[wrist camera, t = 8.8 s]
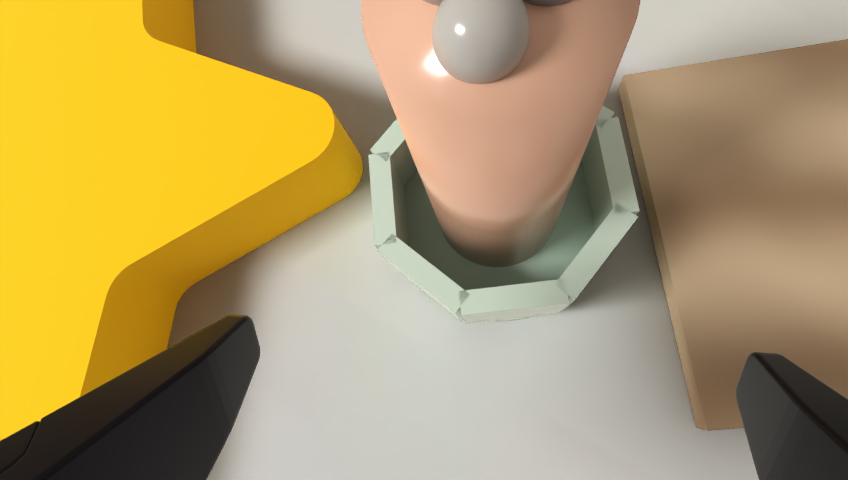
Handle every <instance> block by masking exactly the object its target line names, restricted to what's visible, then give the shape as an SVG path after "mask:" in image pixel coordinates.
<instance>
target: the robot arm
mask: <svg viewBox="0 0 848 480" xmlns="http://www.w3.org/2000/svg"><path fill="white" fill-rule="evenodd" d="M259 357H260V346H259V342H258V339H257V335H256V331H255V327H254V324H253V321H252V319H251V318H250V317H248V316H243V315H228V316H226V317H224V318H222V319H221V320H219V321H217V322H215V323H213V324H212V325H210V326H208V327H206V328H204V329H202V330H201V331H199V332H197V333H195V334H193V335H192V336H190V337H188V338H186V339H184V340H182V341H181V342H179V343H177V344H175V345H173V346H172V347H170V348H168V349H166V350H164V351H162V352H161V353H159V354H157V355H155V356H153V357H152V358H150V359H148V360H146V361H144V362H143V363H141V364H139V365H137V366H135V367H133V368H132V369H130V370H128V371H126V372H124V373H123V374H121V375H119V376H117V377H115V378H113V379H112V380H110V381H108V382H106V383H104V384H103V385H101V386H99V387H97V388H95V389H93V390H92V391H90V392H88V393H86V394H84V395H83V396H81V397H79V398H77V399H75V400H73V401H72V402H70V403H68V404H66V405H64V406H63V407H61V408H59V409H57V410H55V411H54V412H52V413H50V414H48V415H46V416H44V417H43V418H42V419H41V420H40V421H35V422H33V423H32V424H30V425H28V426H26V427H24V428H23V429H21V430H19V431H17V432H15V433H14V434H12V435H10V436H8V437H6V438H4V439H2V440H0V480H206V479H207V477H208V475H209V473H210V471H211V470H212V468H213V466H214V464H215V462H216V460H217V458H218V456H219V454H220V452H221V450H222V448H223V446H224V444H225V442H226V440H227V438H228V436H229V434H230V432H231V430H232V427H233V425H234V423H235V420H236V418H237V415H238V413H239V410H240V408H241V405H242V402H243V400H244V397H245V395H246V392H247V389H248V387H249V384H250V382H251V379H252V376H253V374H254V371H255V369H256V366H257V363H258V361H259ZM736 400H737V404H738V408H739V411H740V415H741V418H742V422H743V425H744V429H745V432H746V436H747V439H748V443H749V446H750V450H751V453H752V457H753V460H754V464H755V467H756V471H757V474H758V477H759V480H848V399H847V398H845V397H844V396H842V395H841V394H839V393H838V392H836V391H835V390H833V389H832V388H830V387H829V386H827V385H826V384H824V383H823V382H821V381H820V380H818V379H817V378H815V377H814V376H812V375H811V374H809V373H808V372H806V371H805V370H803V369H802V368H800V367H799V366H797V365H796V364H794V363H793V362H791V361H790V360H788V359H787V358H785V357H784V356H782V355H780V354H777V353H765V352H753V353H751V354H750V355H749V356H748V358H747V360H746V362H745V365H744V368H743V370H742V373H741V376H740V379H739V381H738V384H737V387H736Z"/></svg>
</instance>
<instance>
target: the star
mask: <svg viewBox="0 0 848 480" xmlns="http://www.w3.org/2000/svg"><path fill="white" fill-rule="evenodd" d="M362 173H363V162H362V158H361V155H360V153H359V151H358V150H357V148H356V147H355V145H354V143H353V142H352V140H351V139H350V137H349V136H348V134H347V132H346V131H345V129H344V128H343V126H342V125H341V123H340V121H339V120H338V118H337V117H336V115H335V114H334V112H333V110H332V109H331V107H330V106H329V104H328V103H327V102H326V101H325V100H324V99H323V98H322V97H320V96H319V95H317V94H314V93H312V92H309V91H306V90H303V89H300V88H297V87H294V86H291V85H288V84H285V83H282V82H279V81H277V80H274V79H271V78H268V77H265V76H262V75H259V74H256V73H253V72H250V71H247V70H244V69H241V68H238V67H235V66H232V65H229V64H226V63H223V62H220V61H217V60H214V59H211V58H208V57H205V56H202V55H199V54H197V53H196V37H195V21H194V5H193V0H0V440H2V439H4V438H6V437H8V436H10V435H12V434H14V433H15V432H17V431H19V430H21V429H23V428H24V427H26V426H28V425H30V424H32V423H33V422H35V421H40V420H41V419H42V418H43V417H44V416H46V415H48V414H50V413H52V412H54V411H55V410H57V409H59V408H61V407H63V406H64V405H66V404H68V403H70V402H72V401H73V400H75V399H77V398H79V397H81V396H83V395H84V394H86V393H88V392H90V391H92V390H93V389H95V388H97V387H99V386H101V385H103V384H104V383H106V382H108V381H110V380H112V379H113V378H115V377H117V376H119V375H121V374H123V373H124V372H126V371H128V370H130V369H132V368H133V367H135V366H137V365H139V364H141V363H143V362H144V361H146V360H148V359H150V358H152V357H153V356H155V355H157V354H159V353H161V352H162V351H164V350H166V349H167V346H168V341H169V337H170V332H171V328H172V324H173V319H174V315H175V310H176V307H177V304H178V302H179V300H180V298H181V296H182V295H183V294H184V292H185V291H186V290H187V289H188V288H189V287H190V286H192V285H193V284H195V283H196V282H198V281H200V280H201V279H203V278H205V277H207V276H209V275H210V274H212V273H214V272H216V271H217V270H219V269H221V268H223V267H224V266H226V265H228V264H230V263H231V262H233V261H235V260H237V259H238V258H240V257H242V256H244V255H245V254H247V253H249V252H251V251H252V250H254V249H256V248H258V247H259V246H261V245H263V244H265V243H267V242H268V241H270V240H272V239H274V238H275V237H277V236H279V235H281V234H282V233H284V232H286V231H288V230H289V229H291V228H293V227H295V226H296V225H298V224H300V223H302V222H303V221H305V220H307V219H309V218H310V217H312V216H314V215H316V214H317V213H319V212H321V211H323V210H324V209H326V208H328V207H330V206H332V205H333V204H335V203H337V202H339V201H340V200H342V199H344V198H345V197H347V196H348V195H350V194H351V193H352V192H353V191H354V190H355V188H356V187H357V185H358V184H359V182H360V180H361V177H362Z"/></svg>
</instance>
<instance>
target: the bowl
mask: <svg viewBox="0 0 848 480" xmlns="http://www.w3.org/2000/svg"><path fill="white" fill-rule="evenodd" d="M614 113H615V112H614V111H612V110H610V109H609V108H607V107H605V106H604V105H603V106H602V109H601V111H600V114H599V116H598V119H597V121H596V124H595V126H594V129H593V132H592V134H591V137H590V139H589V142H588V144H587V147H586V149H585V152H584V154H583V157H582V159H581V162H580V164H579V167H578V169H577V172H576V174H575V177H574V179H573V182H572V185H571V187H570V190H569V192H568V195H567V197H566V200H565V202H564V205H563V207H562V210H561V212H560V215H559V217H558V220H557V222H556V225H555V227H554V230H553V232H552V234H551V236H550V238H549V240H548V241H547V243H546V244H545V245H544V246H543V248H542V249H541V250H540V251H539V252H537V253H536V254H535V255H534V256H532V257H531V258H529V259H527V260H525V261H523V262H521V263H519V264H515V265H512V266H506V267H488V266H483V265H479V264H476V263H473V262H471V261H469V260H467V259H465V258H464V257H462V256H461V255H460V254H458V253H457V252H456V251H455V250H454V249H453V248H452V247H451V245H450V244H449V243H448V241H447V240H446V238H445V237H444V234H443V232H442V230H441V227H440V225H439V222H438V220H437V217H436V215H435V212H434V210H433V207H432V205H431V202H430V200H429V197H428V195H427V192H426V190H425V187H424V185H423V182H422V180H421V177H420V175H419V172H418V170H417V167H416V165H415V163H414V160H413V158H412V155H411V153H410V150H409V148H408V145H407V143H406V140H405V138H404V135H403V133H402V130H401V128H400V125H399V123H398V120H397V119H396V120H395V121H394V122H393V124H392V125H391V126H390V127H389V128H388V129H387V131H386V132H385V133H384V134H383V135H382V136H381V137H380V139H379V140H378V141H377V142H376V143H375V144H374V146H373V147H372V148H371V149H370V150H371V152H372V154H370V155H368V158H369V173H370V187H371V202H372V216H373V231H374V245H375V246H376V248H377V249H378V250H377V251H378V252H379V253H380V254H381V255H382V256H383V257H384V258H385V259H386V260H387V261H388V262H389V263H390V264H391V265H392V266H393V267H394V268H395V269H396V270H398V271H399V272H400V273H401V274H403V275H404V276H405V277H406V278H408V279H409V280H410V281H411V282H412V283H414V284H415V285H416V286H417V287H419V288H420V289H421V290H422V291H424V292H425V293H426V294H427V295H428V296H429V297H430V298H432V299H433V300H434V301H436V302H437V303H438V304H440V305H441V306H442V307H443V308H445V309H446V310H447V311H448V312H450V313H451V314H452V315H453V316H455V317H456V318H457V319H458V320H460V321H461V322H462V321H463V319H464V320H465V322H466V323H476V322H485V321H512V320H518V319H523V318H528V317H531V316H540V315H549V314H558V313H559V312H560V311H561V310H565V309H566V308H567V307H568V306H569V305H570V304H571V303H572V302H573V301H574V300H575V299H576V298H577V297H578V295H579V294H580V293H581V291H582V290H583V289H584V288H585V286H586V285H587V284H588V282H589V281H590V280H591V278H592V277H593V276H594V274H595V273H596V272H597V270H598V269H599V268H600V267H601V265H602V264H603V263H604V261H605V260H606V259H607V257H608V256H609V255H610V253H611V252H612V251H613V249H614V248H615V247H616V246H617V244H618V243H619V242H620V240H621V239H622V238H623V236H624V235H625V234H626V232H627V231H628V230H629V229H630V227H631V226H632V225H633V223H634V222H635V221H636V219H637V218H638V216H636V214H637V213H638V212H639V211H640V210H639V206H638V201H637V197H636V193H635V188H634V184H633V179H632V175H631V171H630V166H629V162H628V157H627V153H626V148H625V144H624V140H623V135H622V131H621V126H620V122H619V117H613V115H614ZM612 117H613V118H612Z"/></svg>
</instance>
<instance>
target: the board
mask: <svg viewBox="0 0 848 480" xmlns="http://www.w3.org/2000/svg"><path fill="white" fill-rule="evenodd" d="M618 90H619V94H620V99H621V103H622V107H623V112H624V116H625V121H626V125H627V129H628V134H629V138H630V142H631V147H632V151H633V155H634V160H635V164H636V168H637V173H638V177H639V181H640V186H641V190H642V194H643V199H644V203H645V207H646V212H647V216H648V221H649V225H650V229H651V234H652V238H653V242H654V247H655V251H656V255H657V260H658V264H659V268H660V273H661V277H662V281H663V286H664V290H665V294H666V299H667V303H668V307H669V312H670V316H671V320H672V325H673V329H674V334H675V338H676V342H677V347H678V351H679V355H680V360H681V364H682V368H683V373H684V377H685V381H686V386H687V390H688V394H689V399H690V403H691V407H692V412H693V416H694V420H695V425H696V428H700V429H704V430H707V431H709V430H721V429H734V428H744V425H743V422H742V418H741V415H740V411H739V408H738V404H737V400H736V387H737V384H738V381H739V379H740V376H741V373H742V370H743V368H744V365H745V362H746V360H747V358H748V356H749V355H750V354H751V353H753V352H765V353H777V354H780V355H782V356H784V357H785V358H787V359H788V360H790V361H791V362H793V363H794V364H796V365H797V366H799V367H800V368H802V369H803V370H805V371H806V372H808V373H809V374H811V375H812V376H814V377H815V378H817V379H818V380H820V381H821V382H823V383H824V384H826V385H827V386H829V387H830V388H832V389H833V390H835V391H836V392H838V393H839V394H841V395H842V396H844V397H845V398H847V399H848V39H847V40H840V41H834V42H828V43H822V44H816V45H809V46H803V47H797V48H791V49H785V50H778V51H772V52H766V53H760V54H754V55H747V56H741V57H735V58H729V59H723V60H716V61H710V62H704V63H698V64H692V65H685V66H679V67H673V68H667V69H661V70H654V71H648V72H642V73H636V74H629V75H624V76H623V78H622V81H621V83H620V85H619V88H618Z"/></svg>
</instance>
